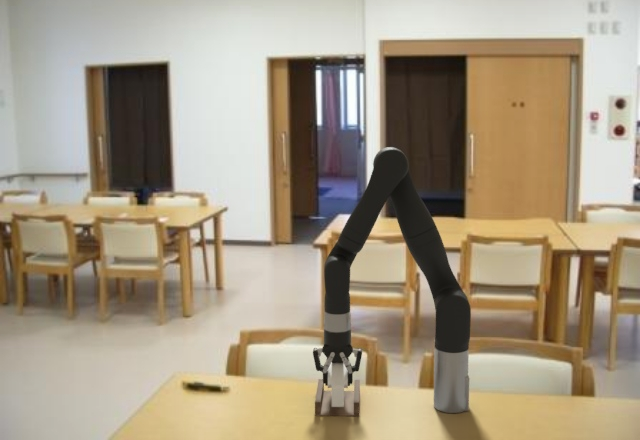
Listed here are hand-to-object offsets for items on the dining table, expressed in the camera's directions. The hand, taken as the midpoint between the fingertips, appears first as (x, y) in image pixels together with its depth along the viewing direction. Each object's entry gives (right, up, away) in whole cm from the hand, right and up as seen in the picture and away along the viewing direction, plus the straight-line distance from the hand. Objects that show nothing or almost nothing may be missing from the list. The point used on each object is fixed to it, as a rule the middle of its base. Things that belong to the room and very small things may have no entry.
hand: (337, 384), depth 201 cm
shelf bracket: (0, -3, +2) cm, 4 cm away
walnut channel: (0, -6, +2) cm, 6 cm away
